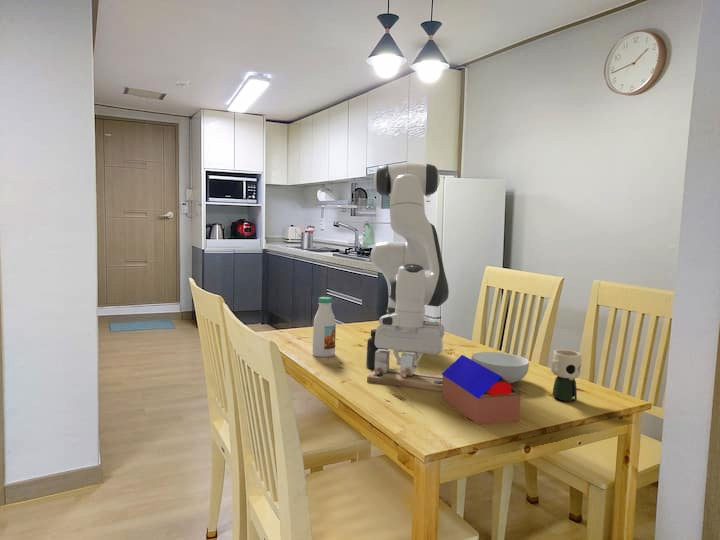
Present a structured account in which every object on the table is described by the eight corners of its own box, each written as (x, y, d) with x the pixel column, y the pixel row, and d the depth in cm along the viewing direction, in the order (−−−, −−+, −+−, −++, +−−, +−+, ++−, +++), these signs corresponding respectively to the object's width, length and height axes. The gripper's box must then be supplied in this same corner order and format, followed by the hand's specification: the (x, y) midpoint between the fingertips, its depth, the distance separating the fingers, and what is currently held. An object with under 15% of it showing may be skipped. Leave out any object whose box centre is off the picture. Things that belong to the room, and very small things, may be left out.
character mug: (560, 405, 141) (563, 357, 140) (539, 397, 147) (543, 351, 146) (588, 400, 146) (592, 354, 145) (568, 392, 152) (571, 348, 151)
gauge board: (377, 371, 166) (378, 347, 166) (464, 382, 158) (466, 356, 158) (367, 381, 156) (368, 355, 155) (460, 393, 148) (461, 366, 147)
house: (479, 394, 148) (481, 353, 147) (520, 421, 129) (523, 375, 128) (440, 397, 145) (442, 355, 144) (476, 426, 126) (479, 378, 125)
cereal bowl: (539, 385, 158) (541, 362, 157) (498, 393, 150) (499, 368, 149) (498, 370, 173) (500, 348, 172) (458, 376, 165) (460, 353, 164)
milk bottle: (315, 358, 180) (316, 299, 178) (310, 352, 187) (311, 296, 185) (337, 357, 182) (339, 299, 180) (331, 351, 189) (333, 295, 187)
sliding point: (403, 371, 162) (404, 351, 161) (414, 372, 161) (415, 352, 160) (398, 377, 155) (399, 357, 155) (410, 378, 154) (410, 358, 154)
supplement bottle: (385, 370, 168) (387, 333, 166) (364, 369, 169) (365, 331, 168) (388, 365, 174) (390, 329, 173) (368, 363, 176) (369, 327, 174)
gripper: (446, 320, 157) (444, 366, 159) (379, 315, 163) (377, 359, 165) (443, 324, 151) (440, 372, 153) (373, 318, 157) (372, 364, 159)
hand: (407, 365), depth 159 cm, fingers closed on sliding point, 3 cm apart
